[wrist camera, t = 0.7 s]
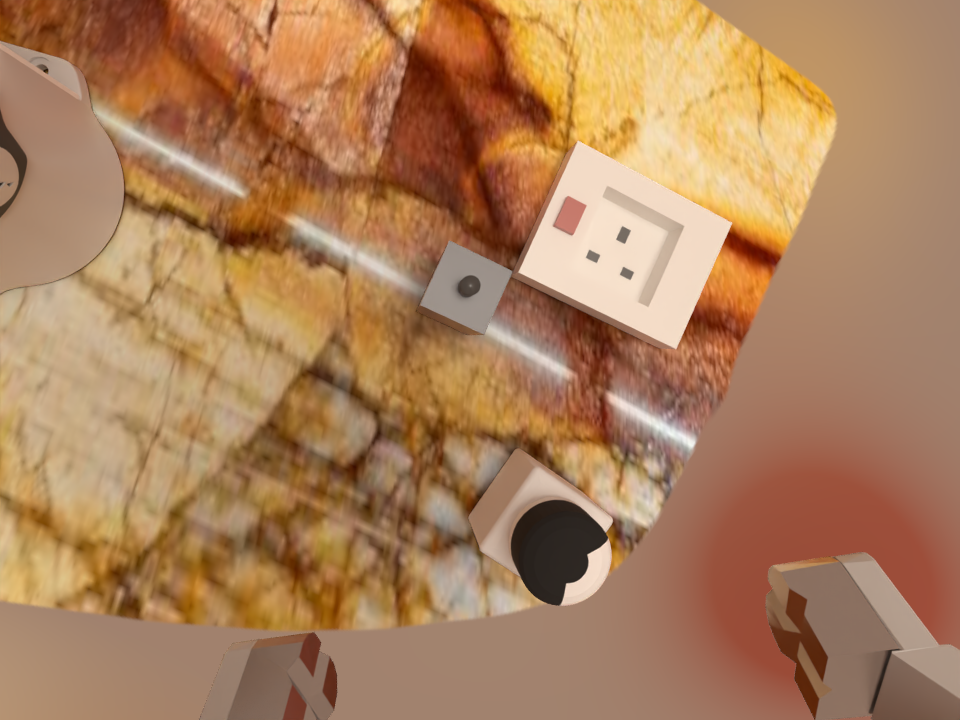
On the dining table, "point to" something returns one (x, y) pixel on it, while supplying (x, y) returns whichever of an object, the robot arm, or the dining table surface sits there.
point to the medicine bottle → (543, 531)
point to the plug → (464, 290)
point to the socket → (621, 247)
